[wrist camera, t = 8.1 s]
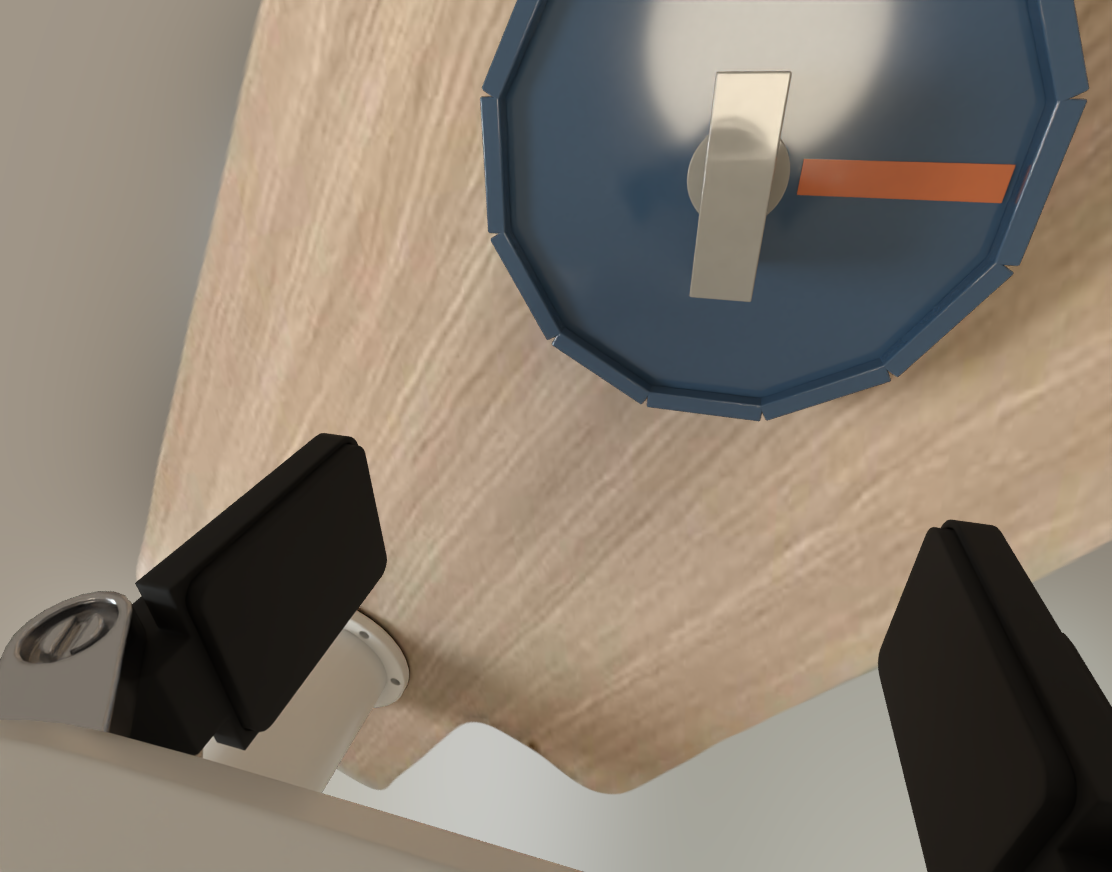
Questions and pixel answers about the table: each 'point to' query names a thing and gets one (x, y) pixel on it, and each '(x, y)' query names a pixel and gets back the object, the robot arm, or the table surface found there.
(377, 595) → the table surface
